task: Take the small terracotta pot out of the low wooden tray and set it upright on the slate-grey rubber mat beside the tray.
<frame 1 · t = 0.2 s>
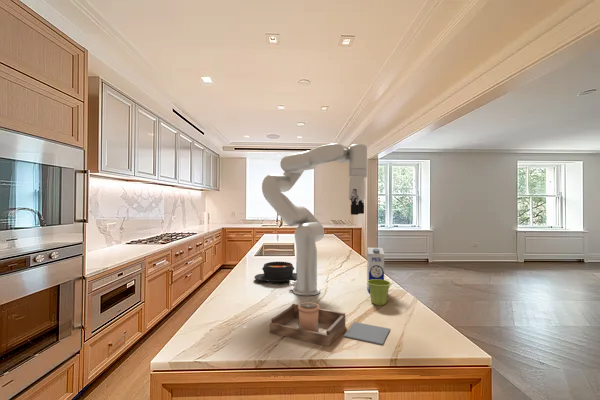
hand: (357, 214, 133), 37 cm above the counter, tool pointing down, fingers open, 9 cm apart
wooden tray: (308, 329, 103), on the counter
milk carton: (375, 291, 146), on the counter
mat: (367, 333, 100), on the counter
casserole: (278, 280, 164), on the counter
terracotta pot: (308, 317, 103), in the wooden tray
plant pot: (378, 303, 129), on the counter
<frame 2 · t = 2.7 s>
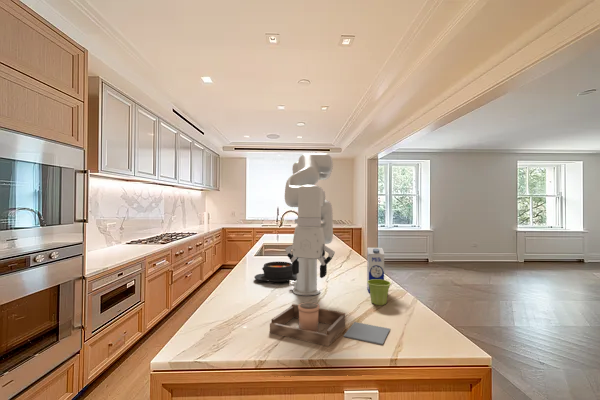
hand: (309, 275, 102), 18 cm above the counter, tool pointing down, fingers open, 9 cm apart
nothing on the counter moved.
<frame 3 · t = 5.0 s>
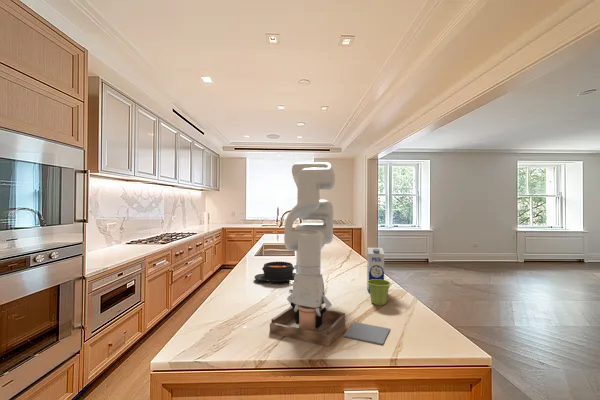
hand: (308, 324, 103), 2 cm above the counter, tool pointing down, fingers closed on terracotta pot, 6 cm apart
terracotta pot: (308, 317, 103), in the wooden tray, touching gripper
everything else where it was.
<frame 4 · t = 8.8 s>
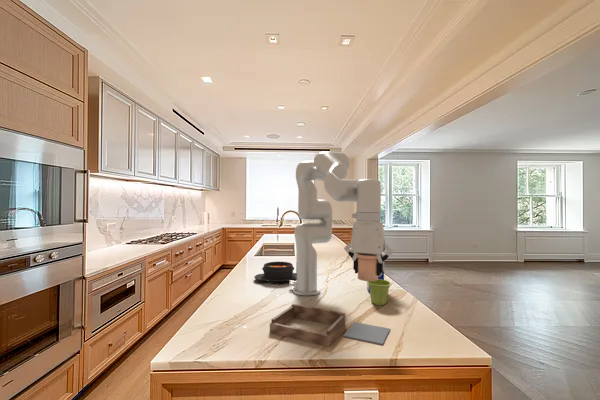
hand: (367, 273, 100), 19 cm above the counter, tool pointing down, fingers closed on terracotta pot, 6 cm apart
terracotta pot: (367, 266, 100), point 22 cm above the counter, touching gripper
everything else where it was.
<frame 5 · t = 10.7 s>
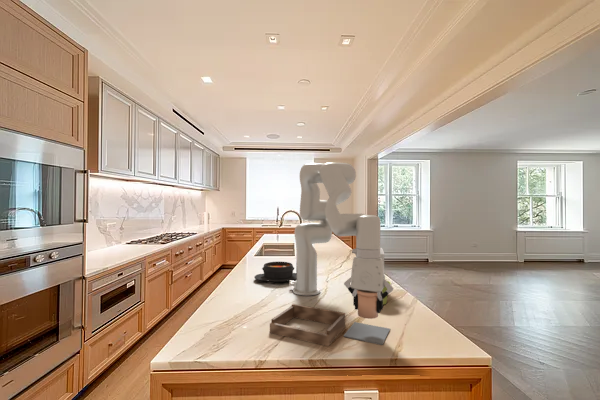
hand: (367, 309, 100), 8 cm above the counter, tool pointing down, fingers closed on terracotta pot, 6 cm apart
terracotta pot: (367, 302, 100), point 10 cm above the counter, touching gripper
everything else where it was.
when the fingers open (4 cm above the counter, at t = 12.6 s): terracotta pot stays where it is, resting on mat.
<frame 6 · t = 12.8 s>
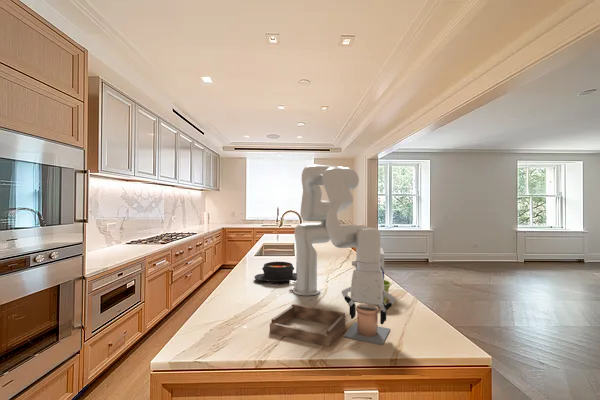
hand: (367, 320, 100), 4 cm above the counter, tool pointing down, fingers open, 9 cm apart
terracotta pot: (367, 319, 100), on the mat
everything else where it was.
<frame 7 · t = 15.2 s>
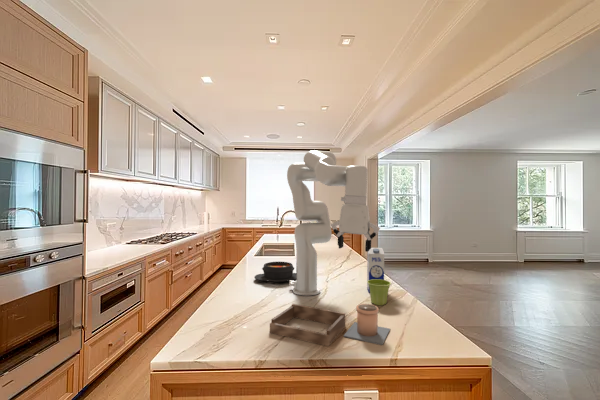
hand: (353, 249, 110), 25 cm above the counter, tool pointing down, fingers open, 9 cm apart
nothing on the counter moved.
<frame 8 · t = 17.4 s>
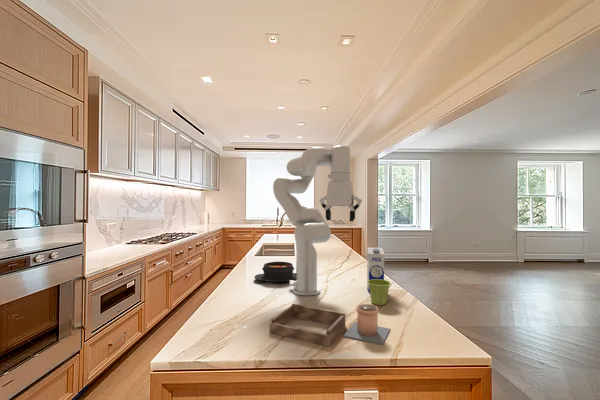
hand: (340, 220, 124), 34 cm above the counter, tool pointing down, fingers open, 9 cm apart
nothing on the counter moved.
at the end: terracotta pot inside the target area on the mat (0.1 cm from its centre), point 4.3 cm above the mat's base; terracotta pot tilted 0°; the gripper is holding nothing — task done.
